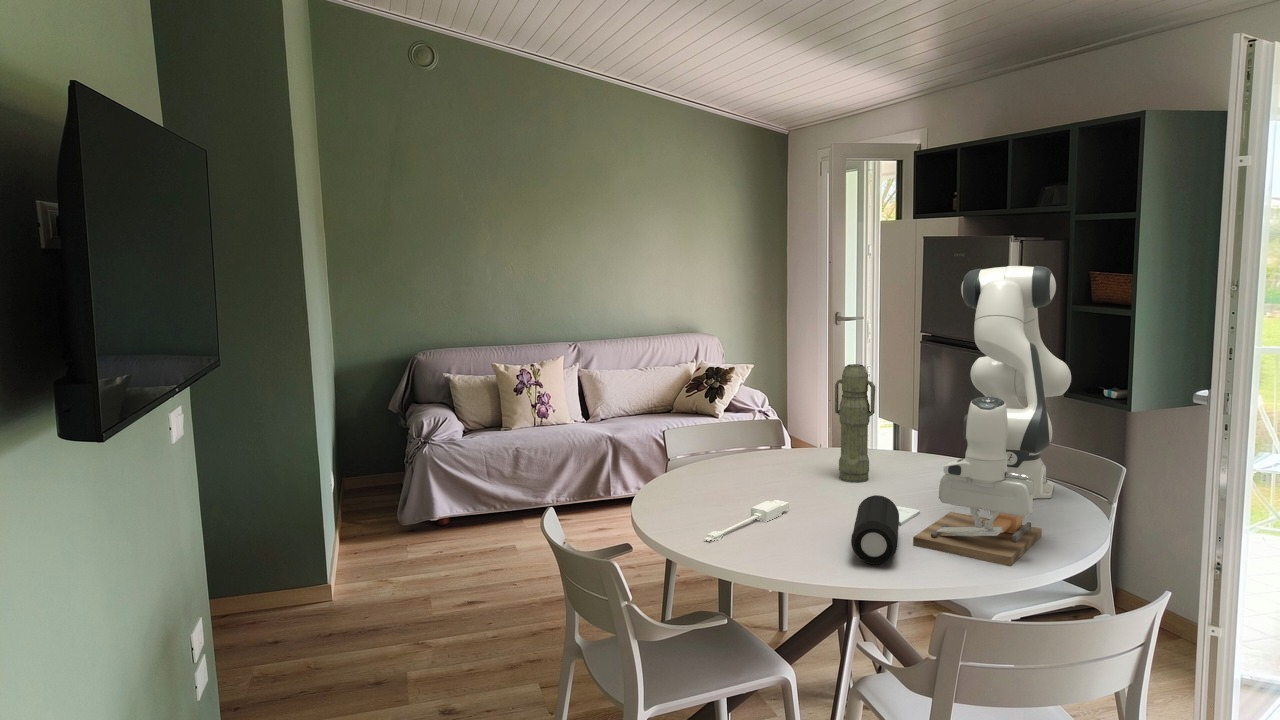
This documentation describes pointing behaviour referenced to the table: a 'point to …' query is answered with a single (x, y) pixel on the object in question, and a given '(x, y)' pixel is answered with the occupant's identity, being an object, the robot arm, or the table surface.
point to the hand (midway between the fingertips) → (983, 528)
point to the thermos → (854, 422)
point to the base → (978, 540)
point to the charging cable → (756, 515)
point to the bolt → (1008, 522)
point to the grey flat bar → (968, 531)
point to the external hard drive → (906, 514)
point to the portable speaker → (876, 530)
